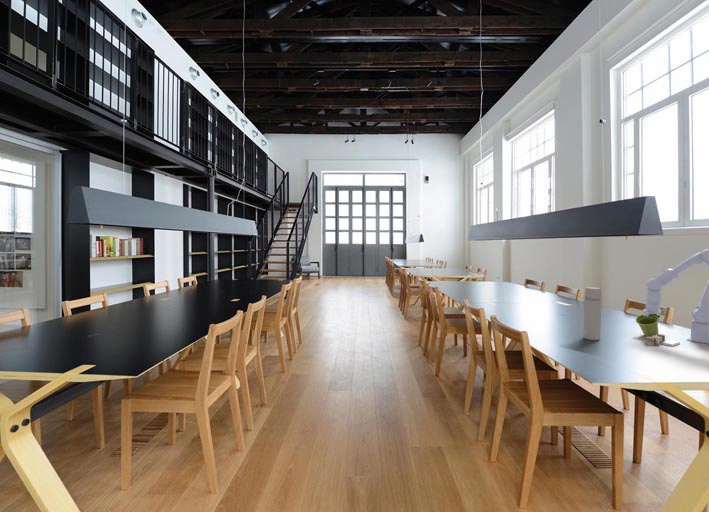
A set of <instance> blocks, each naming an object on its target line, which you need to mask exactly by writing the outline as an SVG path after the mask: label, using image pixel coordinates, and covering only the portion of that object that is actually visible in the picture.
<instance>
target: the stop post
mask: <svg viewBox="0 0 709 512" xmlns="http://www.w3.org/2000/svg"><path fill="white" fill-rule="evenodd" d="M658 345H659V346H661V344H660V338H659V337H655V345H654V346H658Z"/></svg>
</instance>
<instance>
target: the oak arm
mask: <svg viewBox="0 0 709 512" xmlns="http://www.w3.org/2000/svg"><path fill="white" fill-rule="evenodd" d="M655 337H659V338H660V343H661V344H662V342H664V341H666V335H665V334H662V333H661V334H660V333H658V334H657V335H656V336H651V337H648V336H645V337H644V341H643V344H644V345H647V344H648V345H647V346H655V345H654V344H655Z"/></svg>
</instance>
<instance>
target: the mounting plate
mask: <svg viewBox="0 0 709 512" xmlns="http://www.w3.org/2000/svg"><path fill="white" fill-rule="evenodd" d="M662 344H663V346H667V345H668V347H672V346H673V347H675V345H676V346H678V345H680V344H681V342H680V341H679V340H678V341H676V340H672V339H668V340H665V341H664V342H662V343H661V345H662Z"/></svg>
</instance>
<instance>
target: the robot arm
mask: <svg viewBox="0 0 709 512" xmlns="http://www.w3.org/2000/svg"><path fill="white" fill-rule="evenodd" d="M703 263H706V264H707V265H708V266H709V248H705V249H703V250H701V251H699V252H697V253H696V254H693V255H691V256H690V257H688V258H687V259H685V260H684V261H682V262H681V263H679V264H678V265H676V266H674V267H673V268H667V269H663V270H662V272H660V273H659V274H658V275H653V278H650V279H649V280H648V281H647V283H646V286H647V289H646V297H645V298H646V299H645V308H644V309H642V312H643V313H642V315H643V316H647V317H648V316H649V315H651V314H654V315H656V316H657V317H658V318H659V319H660V317H661V315H660V314H662V309H660V308H661V296H662V294H661V290H662V288H663V286H666V285H668V284H670V283H671V282H673V281H674V280H676V279H678V275H679V274H680V273H681V272H683V271H685V270H687V269H688V268H691V267H692V266H693V265H695V264H697V265H698V264H703ZM691 316H692V317H693V319H692V320H691V323H690V337H689V338H686V340H687V341H690V342H696V343H700V344H701V343H702V344H706V345H707V344H709V279H708V281H707V283H706V285H705V288H704V290H703V293H702V296H701V298H700V301H699V302H698V304H697V306H696V307H695V308H694V309H693V310H692V312H691Z"/></svg>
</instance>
